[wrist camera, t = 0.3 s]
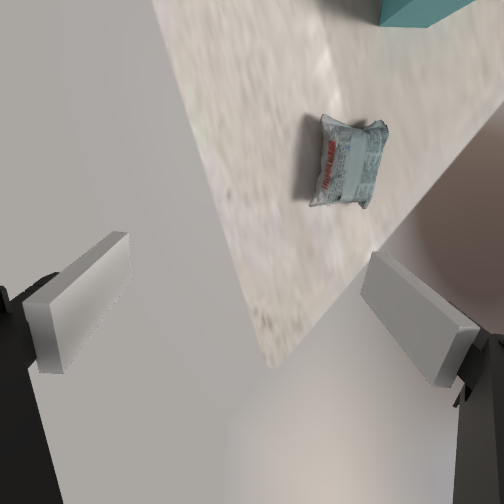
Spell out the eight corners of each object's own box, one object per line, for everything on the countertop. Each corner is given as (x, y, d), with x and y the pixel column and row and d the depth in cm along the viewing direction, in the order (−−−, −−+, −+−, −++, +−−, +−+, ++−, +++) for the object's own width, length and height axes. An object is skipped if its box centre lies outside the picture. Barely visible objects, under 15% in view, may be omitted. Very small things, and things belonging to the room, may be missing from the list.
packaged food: (304, 202, 42) (313, 210, 38) (317, 114, 38) (329, 111, 33) (360, 205, 43) (375, 214, 38) (379, 120, 39) (399, 118, 34)
